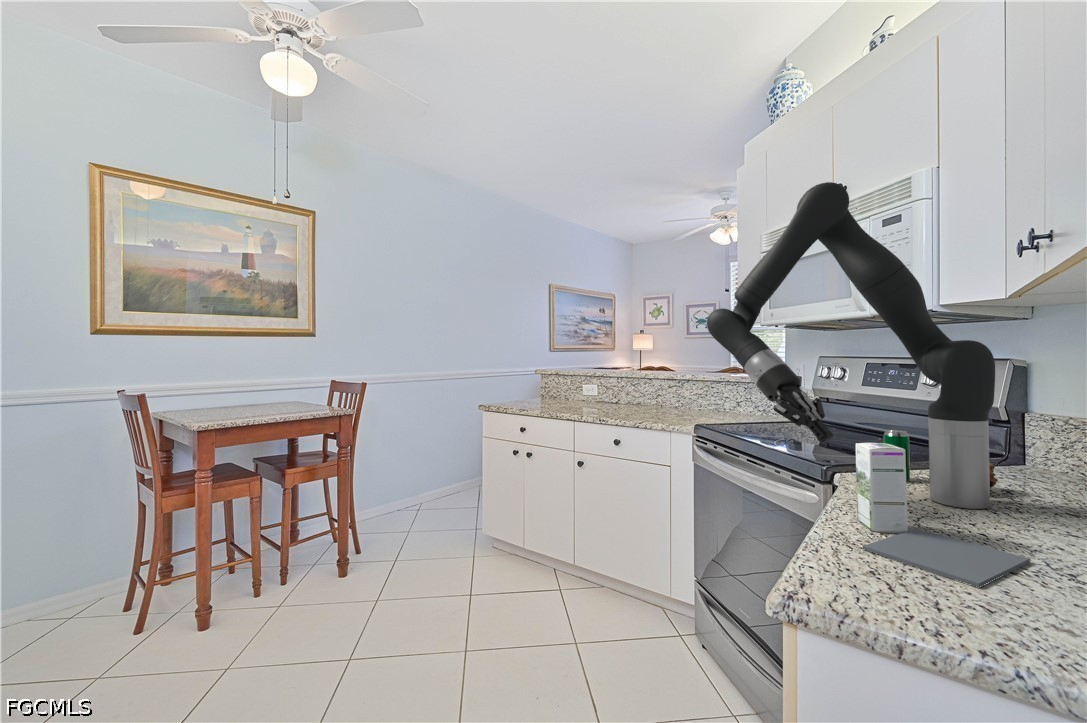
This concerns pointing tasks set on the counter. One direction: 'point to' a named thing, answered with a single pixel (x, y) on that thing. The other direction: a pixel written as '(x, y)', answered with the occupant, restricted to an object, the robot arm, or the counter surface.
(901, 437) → the soda can
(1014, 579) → the counter surface
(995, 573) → the mat
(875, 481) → the syrup box
